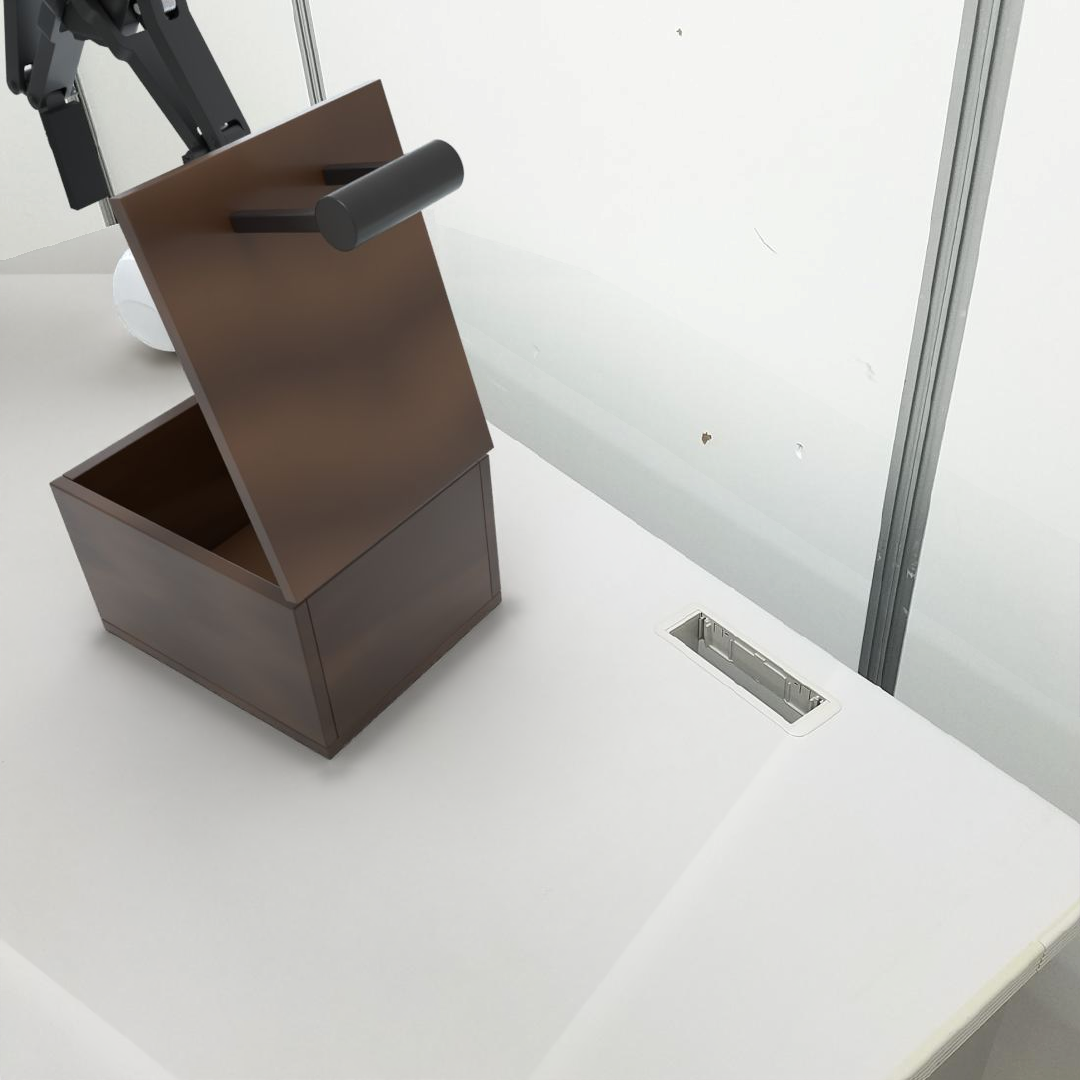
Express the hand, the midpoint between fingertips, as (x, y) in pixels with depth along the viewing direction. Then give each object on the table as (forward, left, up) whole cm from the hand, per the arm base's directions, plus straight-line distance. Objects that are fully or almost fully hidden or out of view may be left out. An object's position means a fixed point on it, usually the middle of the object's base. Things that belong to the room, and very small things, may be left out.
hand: (155, 225), depth 83 cm
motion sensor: (0, 0, -9) cm, 9 cm away
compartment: (+27, -16, -9) cm, 33 cm away
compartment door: (+33, -16, +10) cm, 38 cm away
